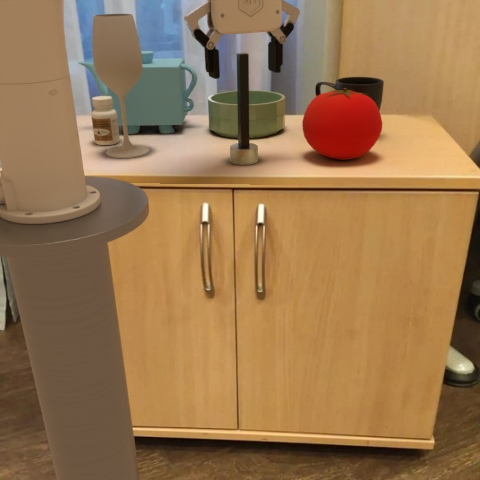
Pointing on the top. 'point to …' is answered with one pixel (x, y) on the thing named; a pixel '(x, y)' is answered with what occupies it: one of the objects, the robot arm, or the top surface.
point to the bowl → (260, 113)
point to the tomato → (342, 124)
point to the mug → (358, 87)
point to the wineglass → (118, 66)
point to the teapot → (153, 94)
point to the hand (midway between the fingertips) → (244, 74)
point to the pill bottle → (104, 121)
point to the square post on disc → (243, 117)
